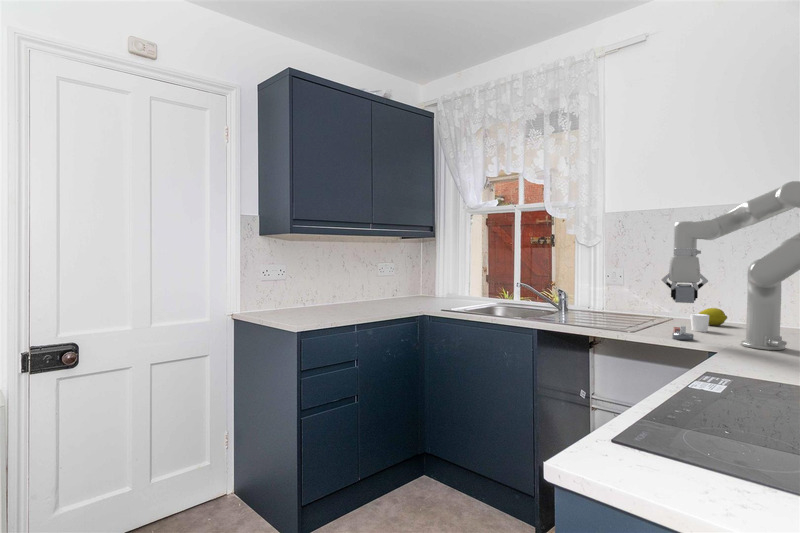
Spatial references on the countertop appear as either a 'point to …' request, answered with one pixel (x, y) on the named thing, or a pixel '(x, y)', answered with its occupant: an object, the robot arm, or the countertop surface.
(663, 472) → the countertop surface
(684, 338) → the toy boat
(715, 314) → the lemon
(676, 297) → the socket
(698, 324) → the white cup
